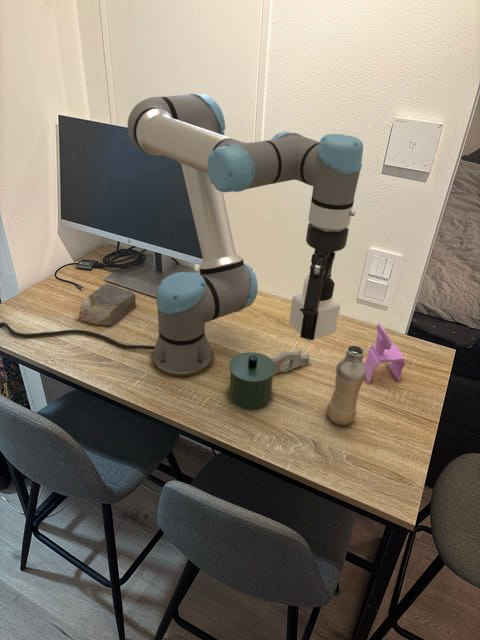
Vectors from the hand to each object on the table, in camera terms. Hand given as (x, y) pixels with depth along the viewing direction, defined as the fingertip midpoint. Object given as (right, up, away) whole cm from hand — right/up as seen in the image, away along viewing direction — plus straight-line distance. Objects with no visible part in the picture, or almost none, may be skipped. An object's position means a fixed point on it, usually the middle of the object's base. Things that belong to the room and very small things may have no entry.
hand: (312, 324), depth 102 cm
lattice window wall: (-2, -12, +26) cm, 28 cm away
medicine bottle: (0, -1, +1) cm, 1 cm away
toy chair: (+22, -13, +26) cm, 36 cm away
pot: (-13, -17, +16) cm, 27 cm away
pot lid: (-12, -10, +12) cm, 20 cm away
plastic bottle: (+8, -22, +11) cm, 26 cm away
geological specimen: (-55, +3, +43) cm, 70 cm away
